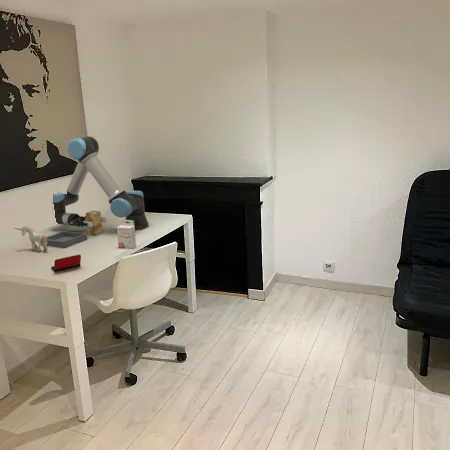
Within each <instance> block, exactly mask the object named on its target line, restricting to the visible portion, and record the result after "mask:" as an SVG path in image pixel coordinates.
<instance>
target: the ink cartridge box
mask: <svg viewBox="0 0 450 450" xmlns="http://www.w3.org/2000/svg"><path fill="white" fill-rule="evenodd" d="M125 222H130V223H125ZM116 231H117V233H116V234H117V243H118V245H117V246H118V248H119V249H129V250H130V249H135V247H137V239H136V230H135V226H134V221H133V220H125V219H120V225H118V226H117V227H116Z"/></svg>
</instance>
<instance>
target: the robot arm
mask: <svg viewBox="0 0 450 450" xmlns="http://www.w3.org/2000/svg"><path fill="white" fill-rule="evenodd" d="M67 146H68V147H67V151H68V152H67V153H68V154H69V156H70V158H72V159H74V160H77V161H78V163H77V165H76V167H75V170H74V172H73V174H72V177H71V178H70V182H69V183H68V186H67V188H66V190H67V194H65V193H63V192H56V193H57V194H54V193H52V194H53V204H54V210H55V218H56V222H57V223H58V224H57V225H64V226H69V227H70V226H74V227H78V228H80V227H81V228H84V227H87V226H88V227H93V222H87V221H86V215H84V216H80V214H79V213H74V212H66V211H67V210H66V207H67V206H70V205H73V204H75V203H77V202H79V199H80V195H79V193H80V191H81V189H82V187H83V184H84V182H85V179H86V178H87V175H88V173H90V174H91V176H92V177H93V178H94V180H95V181H96V182H97V184H98V185H99V187H100V188H101V189H102V190H103V192H104V193H105V194H106V196H107V197H108V203H109V205H110V211H111V213H112V214H113V216H115V217H118V218H125V219H124V220H133V221H134V226H135V231H137V230H138V229H139V230H144V229H147V228H149V227H150V225H149V221H148V219H147V216H146V213H145V212H146V211H145V201H144V199H145V198H144V197H145V196H144V192H143V191H141V190H124V189H121V188H120V186H119V185H118V184H117V182H116V181H115V179H114V178H113V177H112V176H111V174H110V172H109V171H108V170H107V169H106V167H105V166H104V165H103V163H102V162H101V161H100V159H99V157H98V154H99V151H100V150H99V149H100V146H99V141H97V139H96V138H94V137H93V136H89V135H88V136H83V137H75V138H74V139H71V141H69V143H68V145H67ZM101 223H107V217H102V216H101ZM125 223H130V222H125ZM146 227H147V228H146ZM143 228H144V229H143Z"/></svg>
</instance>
